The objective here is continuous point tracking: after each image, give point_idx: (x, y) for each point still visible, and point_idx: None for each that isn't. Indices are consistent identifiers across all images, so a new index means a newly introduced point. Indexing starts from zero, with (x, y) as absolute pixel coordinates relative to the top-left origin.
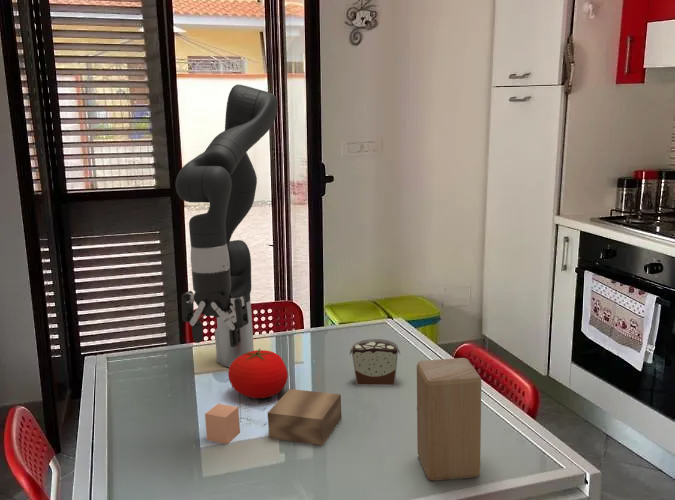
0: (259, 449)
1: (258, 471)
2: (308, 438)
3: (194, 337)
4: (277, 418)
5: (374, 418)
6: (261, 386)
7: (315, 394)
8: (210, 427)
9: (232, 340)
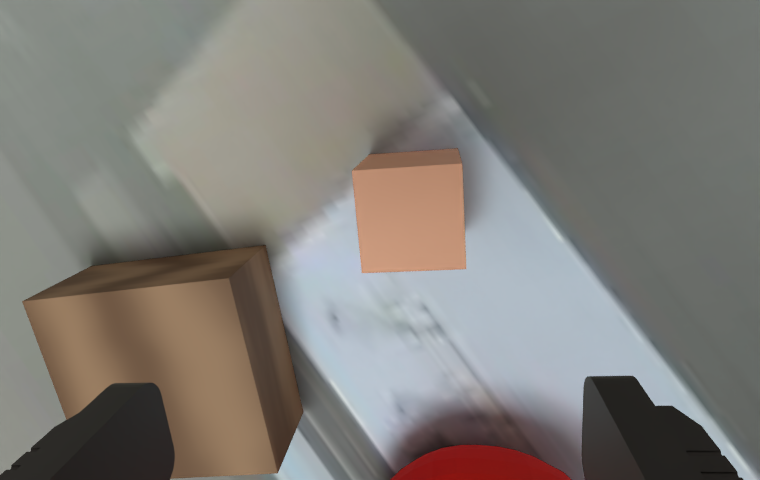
0: (246, 167)
1: (160, 43)
2: (125, 267)
3: (653, 408)
4: (197, 275)
5: None
6: (414, 475)
7: None
8: (437, 157)
9: (69, 426)
